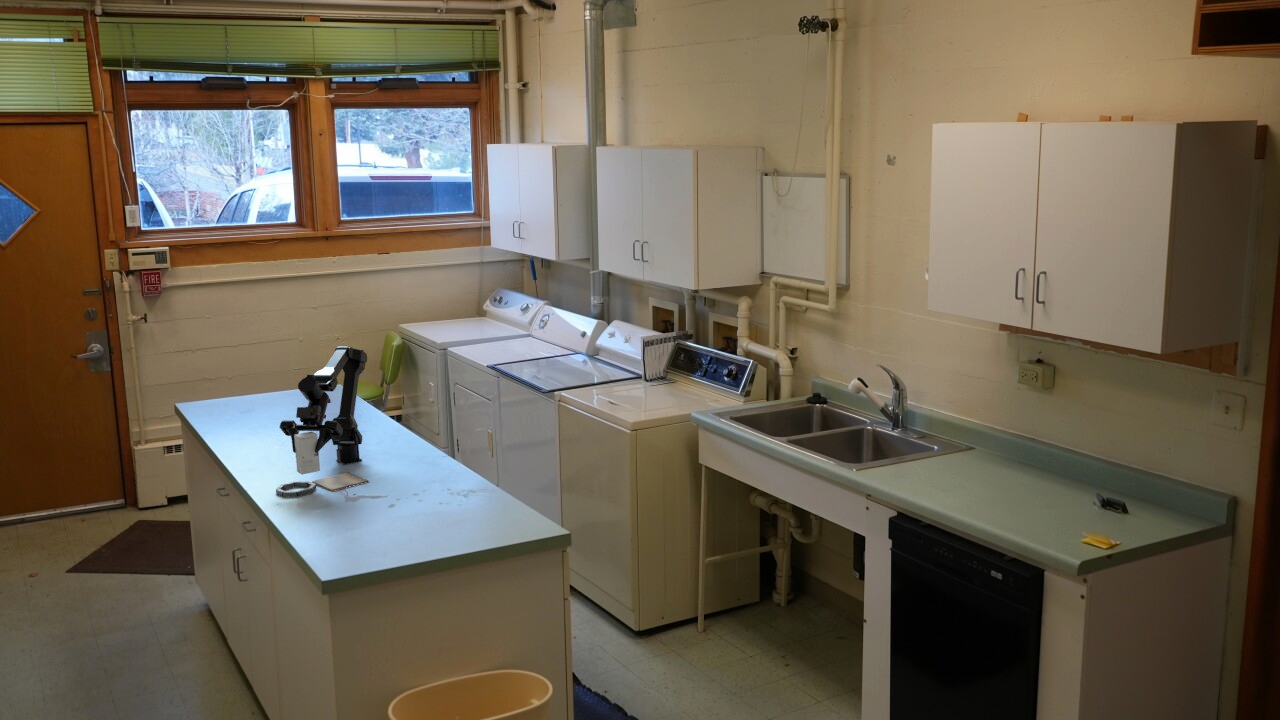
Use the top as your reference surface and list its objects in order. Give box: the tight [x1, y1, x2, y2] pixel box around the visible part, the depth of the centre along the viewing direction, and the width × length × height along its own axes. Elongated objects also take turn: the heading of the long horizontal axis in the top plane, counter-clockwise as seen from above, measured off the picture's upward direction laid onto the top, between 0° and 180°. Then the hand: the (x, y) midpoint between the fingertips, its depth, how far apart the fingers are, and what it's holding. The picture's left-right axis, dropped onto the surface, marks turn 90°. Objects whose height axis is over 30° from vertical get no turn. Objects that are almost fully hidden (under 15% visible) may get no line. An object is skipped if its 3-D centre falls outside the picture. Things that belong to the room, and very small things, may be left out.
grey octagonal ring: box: [275, 480, 317, 498], centre depth 344 cm, size 11×11×2 cm
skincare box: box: [294, 431, 321, 475], centre depth 344 cm, size 6×4×12 cm
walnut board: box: [311, 471, 370, 492], centre depth 352 cm, size 13×13×1 cm
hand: (305, 452), depth 343 cm, fingers closed on skincare box, 7 cm apart
